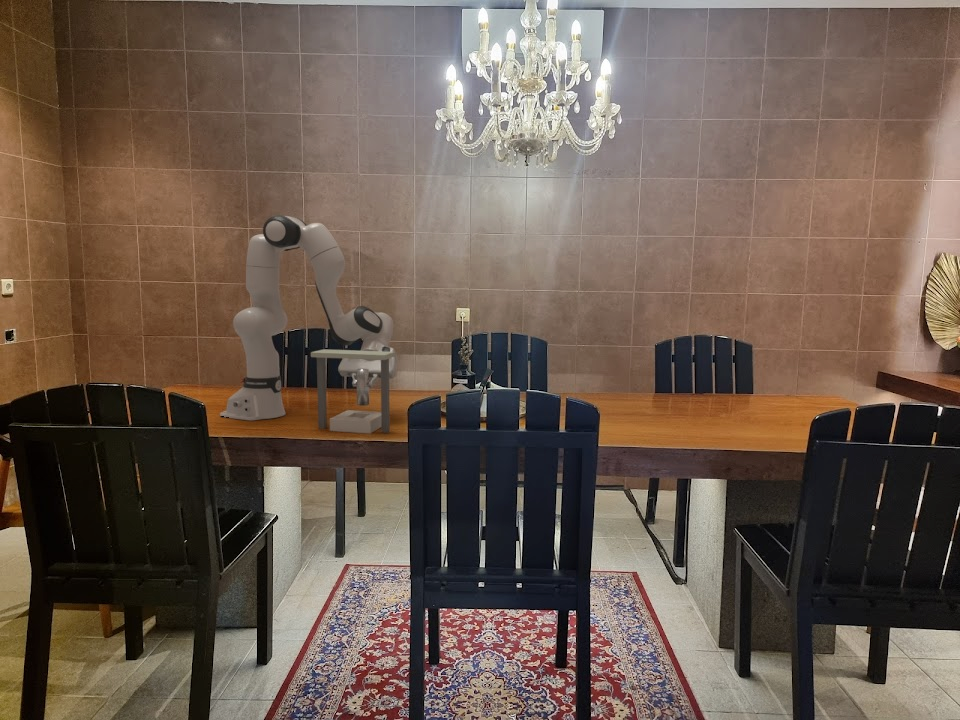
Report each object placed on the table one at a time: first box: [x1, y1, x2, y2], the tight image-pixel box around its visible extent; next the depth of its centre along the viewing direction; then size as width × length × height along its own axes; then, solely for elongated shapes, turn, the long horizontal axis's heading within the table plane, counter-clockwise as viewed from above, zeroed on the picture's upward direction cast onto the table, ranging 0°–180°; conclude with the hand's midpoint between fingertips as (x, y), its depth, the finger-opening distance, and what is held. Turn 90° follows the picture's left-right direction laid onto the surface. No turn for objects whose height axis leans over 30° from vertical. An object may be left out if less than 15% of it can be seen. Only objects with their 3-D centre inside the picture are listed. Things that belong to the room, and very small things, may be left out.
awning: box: [310, 349, 396, 434], centre depth 208 cm, size 25×9×26 cm, turn 77°
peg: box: [356, 368, 370, 407], centre depth 215 cm, size 4×4×12 cm
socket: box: [329, 409, 382, 434], centre depth 213 cm, size 14×14×4 cm
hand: (362, 386), depth 215 cm, fingers closed on peg, 4 cm apart
